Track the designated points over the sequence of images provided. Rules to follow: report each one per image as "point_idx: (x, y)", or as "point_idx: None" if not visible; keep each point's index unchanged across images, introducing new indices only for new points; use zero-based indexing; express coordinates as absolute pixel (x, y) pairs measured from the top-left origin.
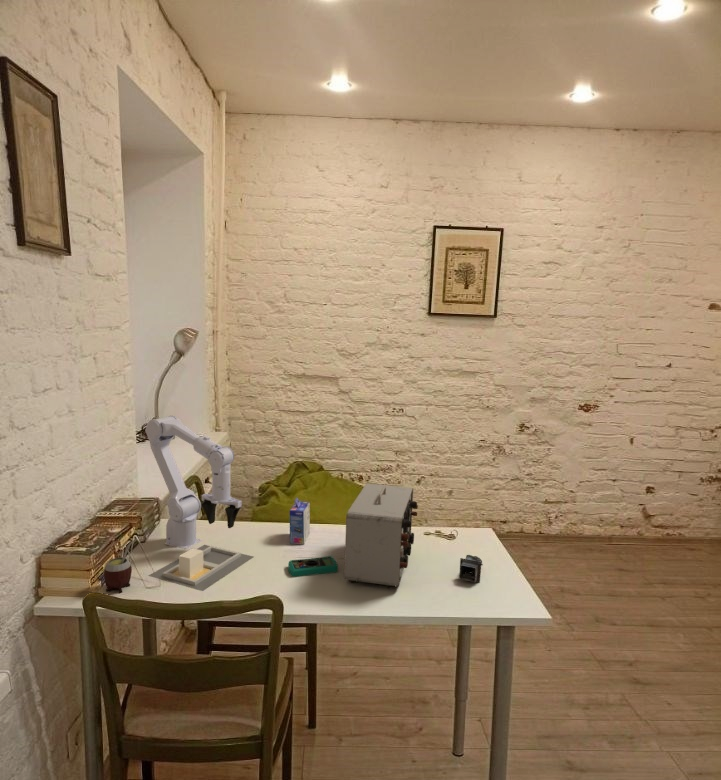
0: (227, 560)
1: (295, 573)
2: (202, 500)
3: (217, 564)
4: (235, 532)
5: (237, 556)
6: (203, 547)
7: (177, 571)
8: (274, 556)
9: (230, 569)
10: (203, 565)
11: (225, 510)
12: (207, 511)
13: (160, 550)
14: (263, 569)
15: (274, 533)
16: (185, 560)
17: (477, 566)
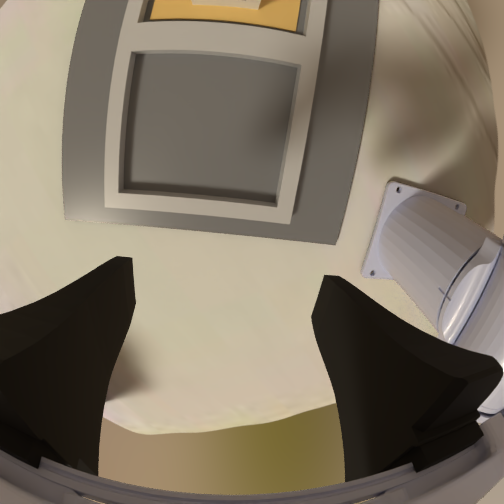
0: (115, 106)
1: None
2: (497, 419)
3: (138, 48)
4: (272, 372)
5: (106, 175)
6: (327, 217)
7: None
8: (30, 259)
9: (83, 68)
10: (207, 23)
11: (15, 356)
12: (402, 337)
13: (459, 155)
14: (3, 153)
15: (150, 395)
16: None
17: None
